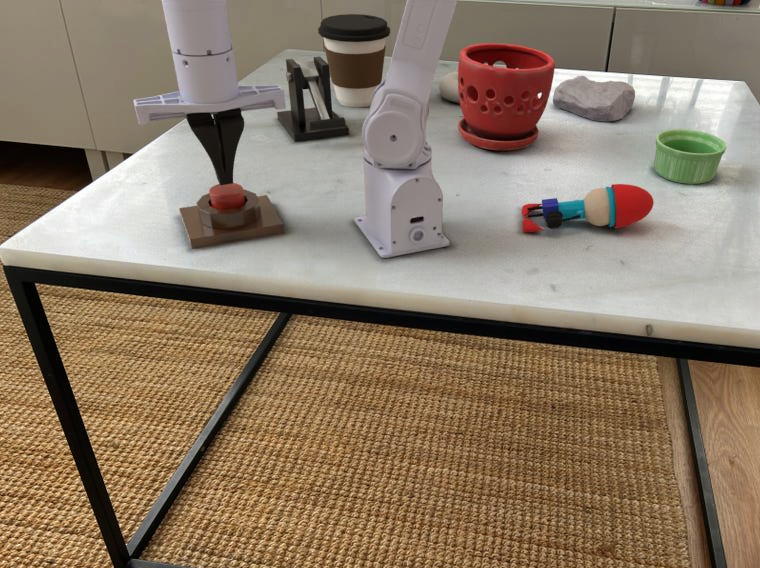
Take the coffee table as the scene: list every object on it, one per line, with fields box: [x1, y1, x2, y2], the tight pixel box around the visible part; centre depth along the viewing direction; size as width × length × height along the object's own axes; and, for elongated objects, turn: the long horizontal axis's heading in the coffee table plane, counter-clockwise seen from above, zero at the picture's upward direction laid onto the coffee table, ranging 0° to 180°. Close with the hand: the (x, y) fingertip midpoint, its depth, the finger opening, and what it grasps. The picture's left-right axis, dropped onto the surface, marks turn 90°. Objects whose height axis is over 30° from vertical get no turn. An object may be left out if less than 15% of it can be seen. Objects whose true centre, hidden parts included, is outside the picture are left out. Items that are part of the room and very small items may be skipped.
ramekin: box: [653, 128, 727, 185], centre depth 96 cm, size 9×9×4 cm
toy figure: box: [521, 183, 655, 233], centre depth 83 cm, size 8×5×15 cm
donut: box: [438, 70, 460, 105], centre depth 118 cm, size 10×4×10 cm
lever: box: [297, 60, 347, 131], centre depth 100 cm, size 11×5×2 cm, turn 24°
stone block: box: [552, 75, 636, 123], centre depth 116 cm, size 12×5×10 cm
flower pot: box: [457, 42, 556, 152], centre depth 101 cm, size 13×13×12 cm
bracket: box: [276, 56, 350, 143], centre depth 103 cm, size 10×8×9 cm
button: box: [208, 182, 245, 210], centre depth 79 cm, size 4×4×2 cm
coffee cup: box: [317, 13, 391, 108], centre depth 112 cm, size 11×11×12 cm
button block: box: [178, 188, 286, 250], centre depth 80 cm, size 10×8×3 cm
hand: (225, 181), depth 78 cm, fingers closed
